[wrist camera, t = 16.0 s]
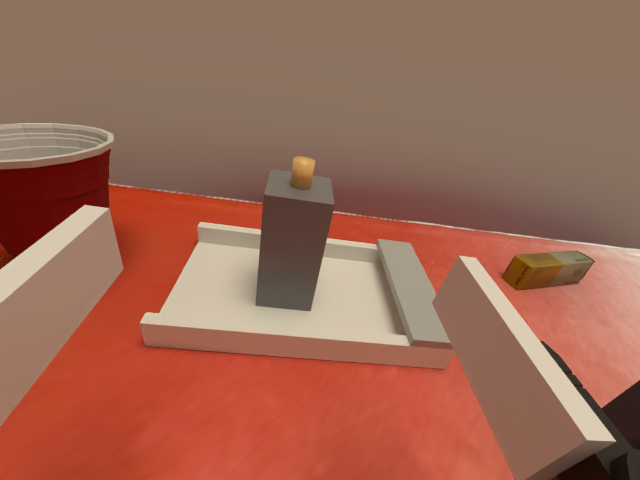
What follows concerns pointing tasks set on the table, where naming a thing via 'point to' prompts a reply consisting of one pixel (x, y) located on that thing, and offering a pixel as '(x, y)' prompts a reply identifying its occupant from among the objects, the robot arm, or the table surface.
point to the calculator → (626, 415)
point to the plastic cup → (48, 178)
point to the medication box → (547, 269)
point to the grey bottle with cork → (293, 236)
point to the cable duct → (304, 326)
